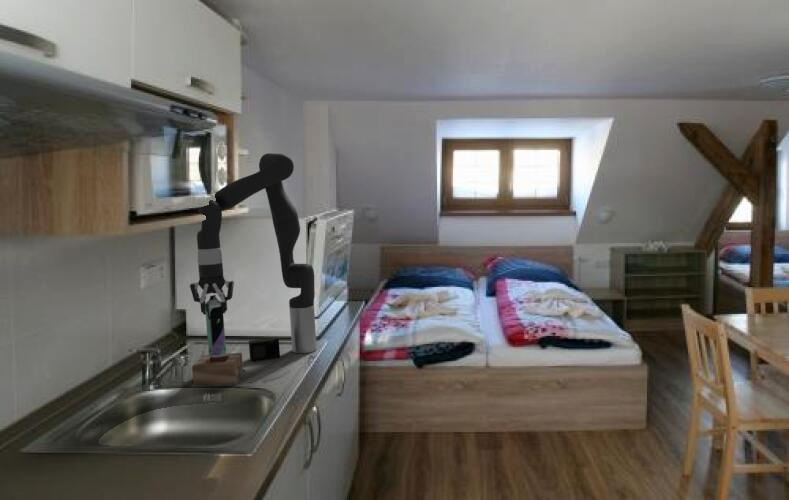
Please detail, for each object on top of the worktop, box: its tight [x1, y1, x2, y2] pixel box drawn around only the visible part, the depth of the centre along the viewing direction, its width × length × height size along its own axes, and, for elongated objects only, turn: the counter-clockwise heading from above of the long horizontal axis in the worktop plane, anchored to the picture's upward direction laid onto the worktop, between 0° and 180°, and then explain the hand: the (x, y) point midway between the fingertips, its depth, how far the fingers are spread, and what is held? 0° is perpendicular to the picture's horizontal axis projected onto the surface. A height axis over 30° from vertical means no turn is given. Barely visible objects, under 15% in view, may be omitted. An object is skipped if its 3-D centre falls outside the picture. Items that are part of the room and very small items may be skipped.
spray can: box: [205, 294, 227, 358], centre depth 199 cm, size 6×6×20 cm
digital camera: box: [248, 337, 281, 362], centre depth 223 cm, size 10×5×7 cm, turn 112°
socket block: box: [191, 352, 246, 389], centre depth 201 cm, size 14×14×7 cm
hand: (214, 313), depth 199 cm, fingers closed on spray can, 5 cm apart
